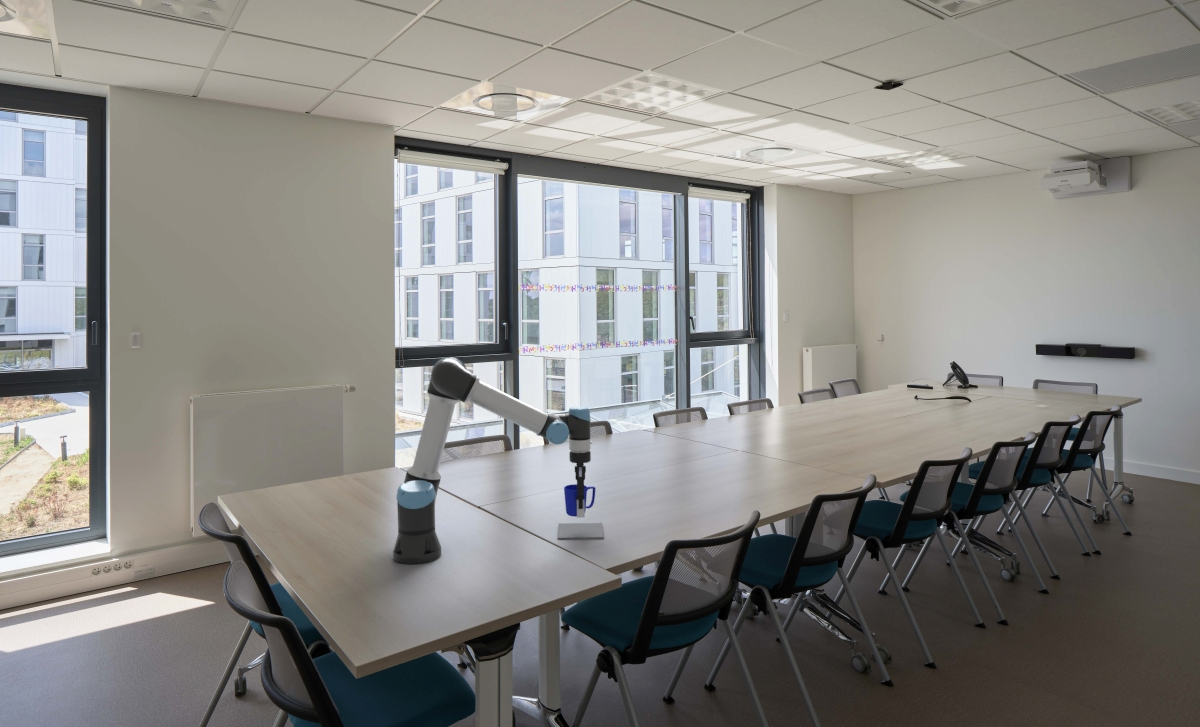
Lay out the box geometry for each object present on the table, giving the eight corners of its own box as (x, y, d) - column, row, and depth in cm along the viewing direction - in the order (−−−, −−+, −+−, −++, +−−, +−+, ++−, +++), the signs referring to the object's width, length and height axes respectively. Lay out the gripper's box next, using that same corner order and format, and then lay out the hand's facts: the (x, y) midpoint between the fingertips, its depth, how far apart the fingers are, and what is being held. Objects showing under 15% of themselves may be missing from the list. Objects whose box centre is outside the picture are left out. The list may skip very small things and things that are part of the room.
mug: (600, 514, 250) (600, 486, 250) (571, 519, 244) (570, 491, 243) (589, 508, 257) (589, 481, 257) (560, 513, 251) (559, 486, 250)
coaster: (557, 539, 242) (557, 537, 242) (558, 525, 258) (558, 523, 258) (603, 538, 243) (603, 537, 243) (601, 524, 259) (601, 522, 259)
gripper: (591, 456, 238) (591, 522, 240) (590, 444, 258) (590, 505, 260) (569, 456, 238) (569, 522, 240) (569, 445, 258) (570, 506, 260)
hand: (580, 513), depth 250 cm, fingers closed on mug, 7 cm apart
